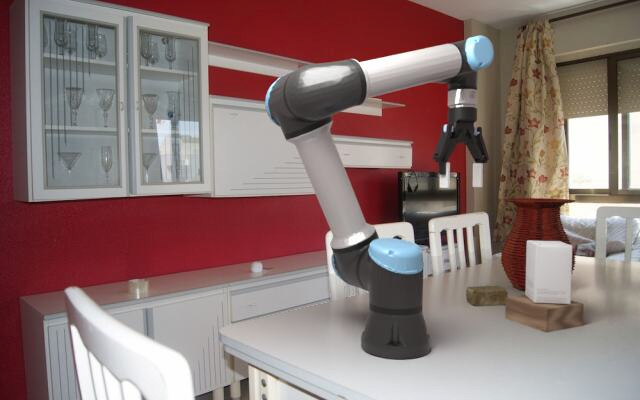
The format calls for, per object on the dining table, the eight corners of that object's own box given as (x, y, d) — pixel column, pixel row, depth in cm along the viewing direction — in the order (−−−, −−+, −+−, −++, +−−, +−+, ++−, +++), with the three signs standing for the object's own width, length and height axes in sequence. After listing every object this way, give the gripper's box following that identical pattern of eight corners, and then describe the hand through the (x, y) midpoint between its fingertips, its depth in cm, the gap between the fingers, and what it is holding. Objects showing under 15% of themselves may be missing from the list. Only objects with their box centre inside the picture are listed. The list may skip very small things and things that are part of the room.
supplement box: (571, 305, 124) (573, 245, 123) (534, 303, 125) (535, 244, 124) (559, 296, 133) (561, 240, 132) (524, 294, 134) (525, 239, 133)
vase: (556, 300, 150) (558, 201, 149) (486, 287, 168) (487, 199, 167) (587, 289, 166) (589, 199, 165) (519, 278, 183) (521, 197, 182)
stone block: (464, 302, 149) (464, 286, 149) (499, 300, 152) (499, 284, 151) (473, 307, 144) (474, 290, 144) (510, 305, 146) (510, 288, 146)
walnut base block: (546, 334, 120) (546, 309, 120) (505, 320, 132) (505, 297, 131) (583, 327, 125) (583, 303, 125) (540, 314, 137) (541, 292, 137)
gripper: (442, 101, 122) (441, 188, 123) (502, 109, 136) (501, 186, 137) (419, 105, 128) (418, 187, 129) (479, 112, 143) (479, 186, 144)
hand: (461, 187), depth 133 cm, fingers open, 13 cm apart
